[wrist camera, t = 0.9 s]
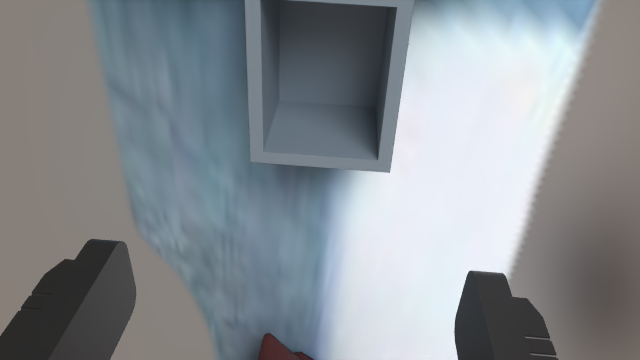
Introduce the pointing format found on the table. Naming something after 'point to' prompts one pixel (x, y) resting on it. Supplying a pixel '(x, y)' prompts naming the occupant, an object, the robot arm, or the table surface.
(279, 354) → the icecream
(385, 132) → the slate crate
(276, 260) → the table surface
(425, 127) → the table surface
